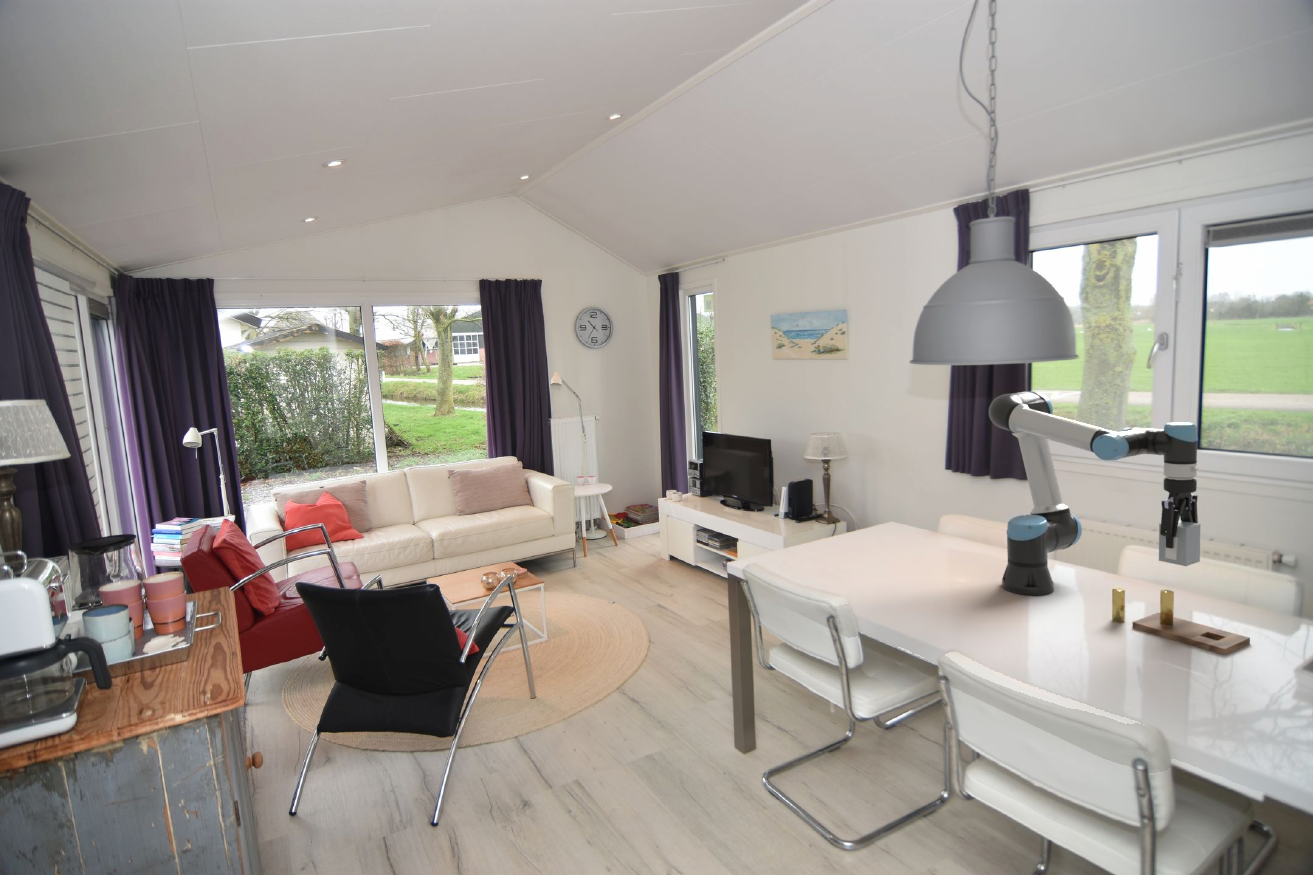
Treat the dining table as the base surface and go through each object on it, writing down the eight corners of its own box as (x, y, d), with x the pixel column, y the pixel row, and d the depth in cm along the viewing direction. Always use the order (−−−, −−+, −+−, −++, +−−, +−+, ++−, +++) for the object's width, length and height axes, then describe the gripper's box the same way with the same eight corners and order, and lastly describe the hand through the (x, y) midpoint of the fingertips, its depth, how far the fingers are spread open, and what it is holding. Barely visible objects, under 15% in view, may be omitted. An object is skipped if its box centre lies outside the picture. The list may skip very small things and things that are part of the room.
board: (1132, 627, 196) (1132, 621, 196) (1157, 617, 201) (1157, 612, 201) (1224, 655, 176) (1224, 648, 176) (1249, 643, 181) (1249, 637, 181)
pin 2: (1157, 622, 194) (1158, 591, 193) (1163, 620, 195) (1164, 588, 194) (1169, 626, 191) (1170, 594, 190) (1175, 623, 193) (1176, 591, 192)
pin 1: (1109, 619, 202) (1110, 589, 201) (1116, 617, 203) (1116, 587, 202) (1120, 623, 199) (1120, 592, 198) (1126, 620, 201) (1127, 590, 199)
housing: (1158, 560, 203) (1159, 523, 202) (1172, 556, 206) (1173, 519, 205) (1185, 566, 197) (1186, 527, 196) (1199, 561, 200) (1200, 523, 199)
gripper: (1174, 484, 191) (1173, 565, 194) (1214, 474, 200) (1213, 552, 203) (1145, 480, 198) (1144, 559, 201) (1185, 471, 207) (1184, 547, 209)
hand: (1178, 556), depth 202 cm, fingers closed on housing, 7 cm apart
